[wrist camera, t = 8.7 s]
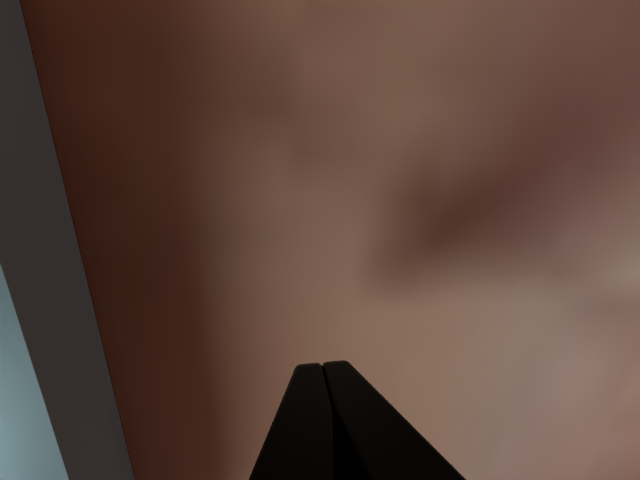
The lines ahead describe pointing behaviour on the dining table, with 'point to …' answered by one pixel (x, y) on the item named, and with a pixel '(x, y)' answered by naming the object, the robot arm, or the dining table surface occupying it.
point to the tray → (45, 299)
